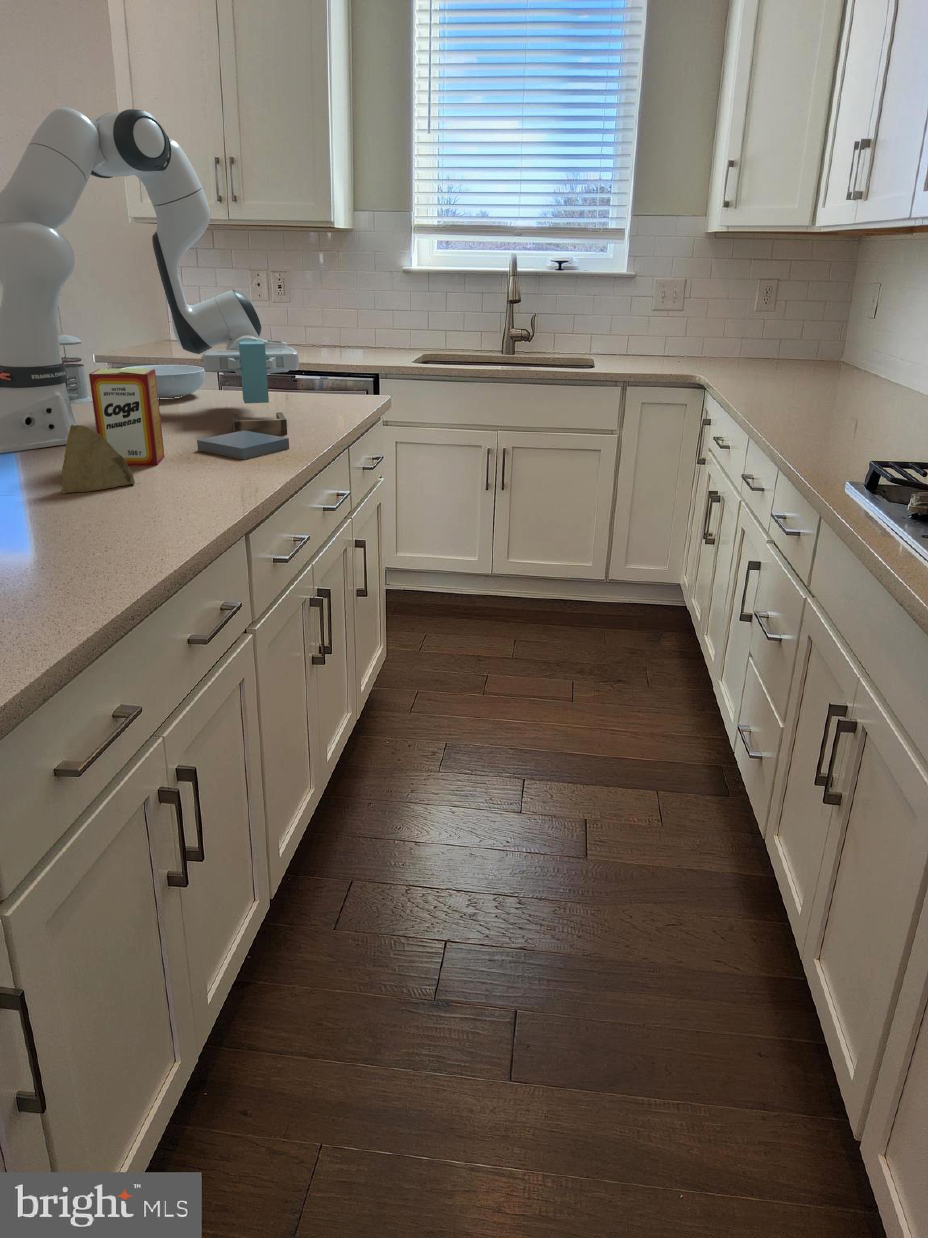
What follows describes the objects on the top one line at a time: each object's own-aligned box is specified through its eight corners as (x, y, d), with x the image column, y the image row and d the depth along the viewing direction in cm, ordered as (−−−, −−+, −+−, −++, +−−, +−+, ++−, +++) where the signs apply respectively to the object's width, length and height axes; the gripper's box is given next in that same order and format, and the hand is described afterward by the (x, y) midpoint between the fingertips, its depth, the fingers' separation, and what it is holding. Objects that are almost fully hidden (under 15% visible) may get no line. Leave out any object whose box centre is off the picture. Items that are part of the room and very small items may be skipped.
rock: (145, 464, 150) (84, 455, 149) (135, 429, 143) (71, 419, 142) (126, 516, 145) (63, 507, 144) (115, 483, 137) (48, 473, 137)
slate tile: (243, 459, 165) (242, 448, 164) (197, 450, 171) (196, 439, 170) (289, 448, 174) (288, 438, 173) (244, 440, 180) (244, 430, 179)
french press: (78, 404, 214) (62, 292, 204) (34, 402, 216) (16, 290, 206) (101, 398, 223) (87, 290, 213) (59, 395, 225) (43, 288, 215)
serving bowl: (219, 392, 235) (216, 364, 233) (188, 405, 216) (186, 375, 214) (141, 389, 237) (138, 362, 234) (104, 402, 218) (101, 372, 215)
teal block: (244, 403, 191) (240, 344, 186) (243, 399, 195) (238, 341, 190) (268, 402, 192) (264, 343, 187) (266, 398, 196) (262, 341, 192)
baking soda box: (101, 465, 158) (88, 371, 152) (110, 457, 164) (98, 366, 158) (157, 465, 159) (146, 372, 153) (164, 457, 165) (154, 366, 159)
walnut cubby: (235, 436, 184) (234, 421, 183) (232, 428, 191) (231, 413, 190) (287, 434, 187) (286, 419, 185) (282, 426, 194) (281, 412, 193)
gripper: (198, 342, 198) (200, 350, 186) (293, 341, 203) (301, 348, 191) (201, 372, 200) (203, 381, 188) (294, 370, 206) (302, 379, 194)
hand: (253, 365), depth 190 cm, fingers closed on teal block, 5 cm apart
